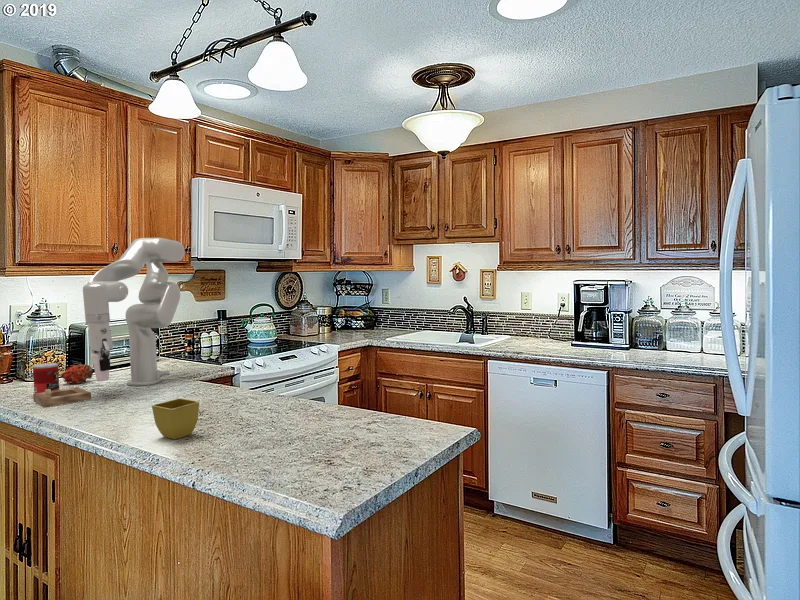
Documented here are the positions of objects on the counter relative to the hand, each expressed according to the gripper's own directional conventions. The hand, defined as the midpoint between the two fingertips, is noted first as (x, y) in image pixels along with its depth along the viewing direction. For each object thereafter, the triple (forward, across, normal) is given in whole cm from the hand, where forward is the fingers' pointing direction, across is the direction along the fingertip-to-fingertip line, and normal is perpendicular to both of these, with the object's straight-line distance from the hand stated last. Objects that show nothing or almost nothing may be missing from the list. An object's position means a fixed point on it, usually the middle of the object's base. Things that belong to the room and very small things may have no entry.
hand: (101, 368), depth 193 cm
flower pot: (+8, -66, +4) cm, 67 cm away
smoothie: (+4, 0, 0) cm, 4 cm away
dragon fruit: (+12, +35, -1) cm, 37 cm away
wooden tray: (+10, +6, +12) cm, 16 cm away
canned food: (+11, +21, +13) cm, 27 cm away
